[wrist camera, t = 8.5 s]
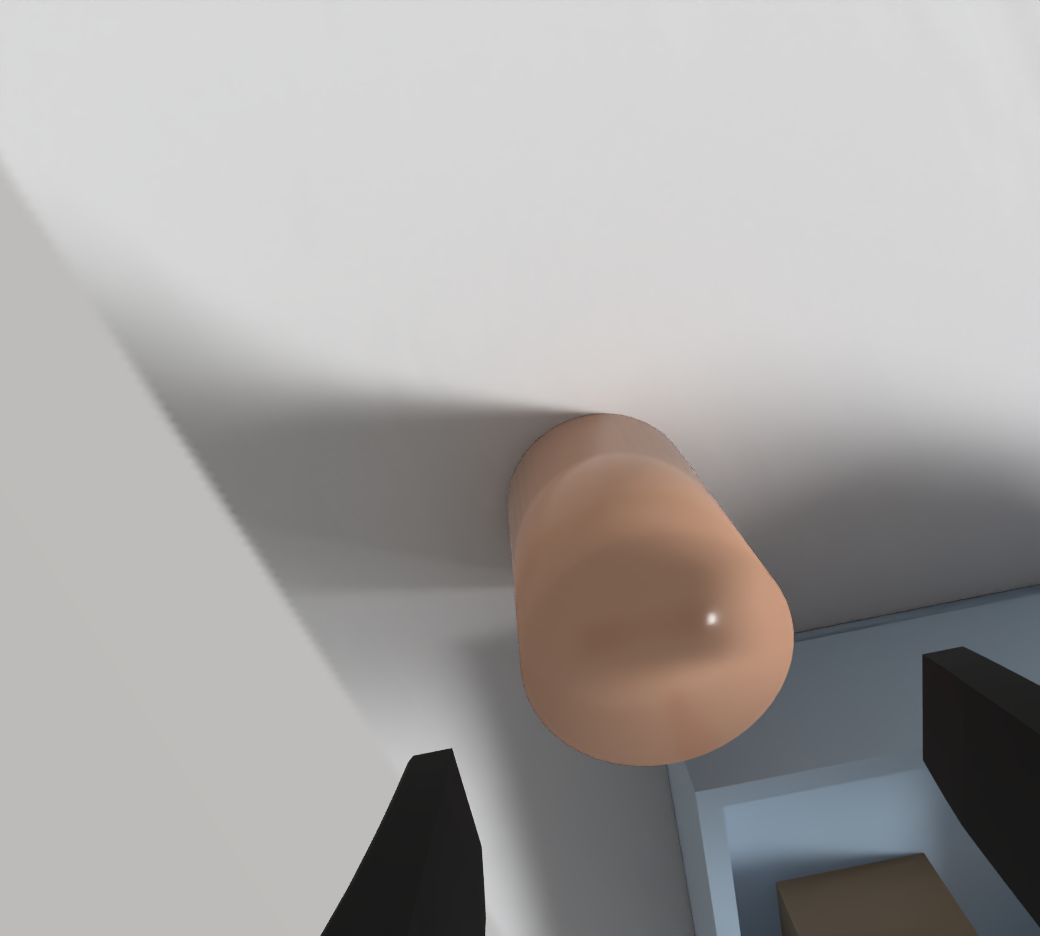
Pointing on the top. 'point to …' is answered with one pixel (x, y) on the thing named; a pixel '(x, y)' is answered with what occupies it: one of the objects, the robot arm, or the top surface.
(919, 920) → the walnut cube
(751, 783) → the tote
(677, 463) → the terracotta cylinder
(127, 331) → the top surface
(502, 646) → the top surface
